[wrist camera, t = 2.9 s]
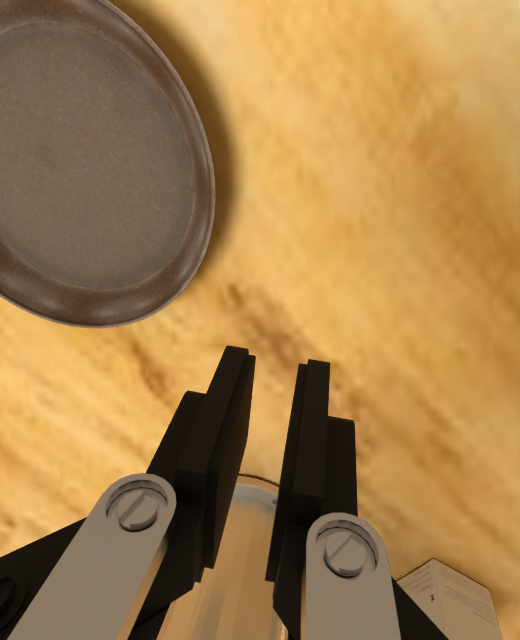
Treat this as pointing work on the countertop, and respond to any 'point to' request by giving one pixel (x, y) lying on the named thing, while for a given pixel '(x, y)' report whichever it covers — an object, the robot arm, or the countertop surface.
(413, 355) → the countertop surface
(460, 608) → the supplement box
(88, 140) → the plant saucer
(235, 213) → the countertop surface
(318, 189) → the countertop surface
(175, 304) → the countertop surface
